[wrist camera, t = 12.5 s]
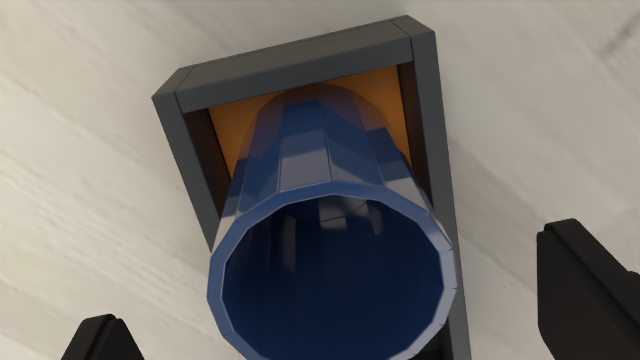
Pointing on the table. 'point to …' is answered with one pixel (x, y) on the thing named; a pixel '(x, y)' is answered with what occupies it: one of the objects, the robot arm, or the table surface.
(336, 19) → the table surface
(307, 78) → the holder
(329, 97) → the cup
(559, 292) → the robot arm
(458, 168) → the table surface
